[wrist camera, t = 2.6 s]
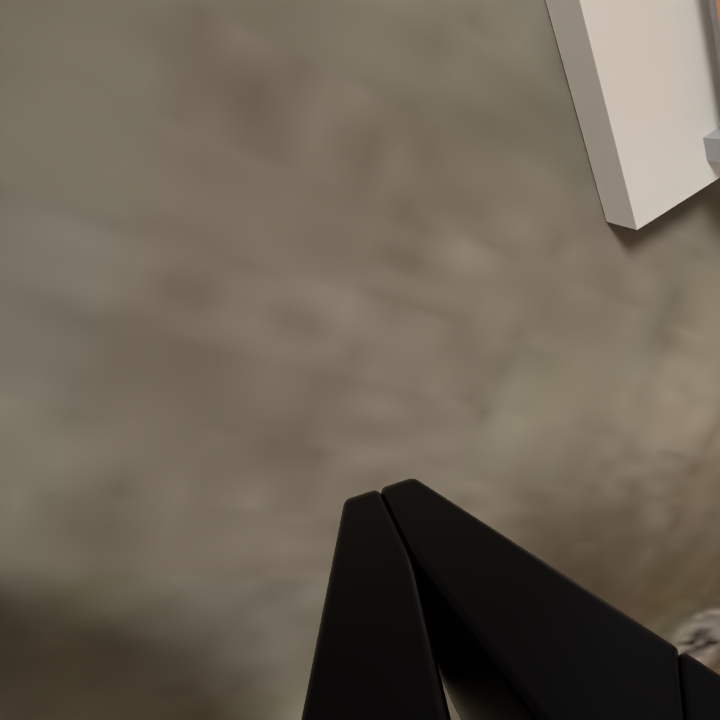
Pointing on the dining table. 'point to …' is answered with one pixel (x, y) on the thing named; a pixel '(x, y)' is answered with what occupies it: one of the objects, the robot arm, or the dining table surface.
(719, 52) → the paddle
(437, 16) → the dining table surface
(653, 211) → the switch console
